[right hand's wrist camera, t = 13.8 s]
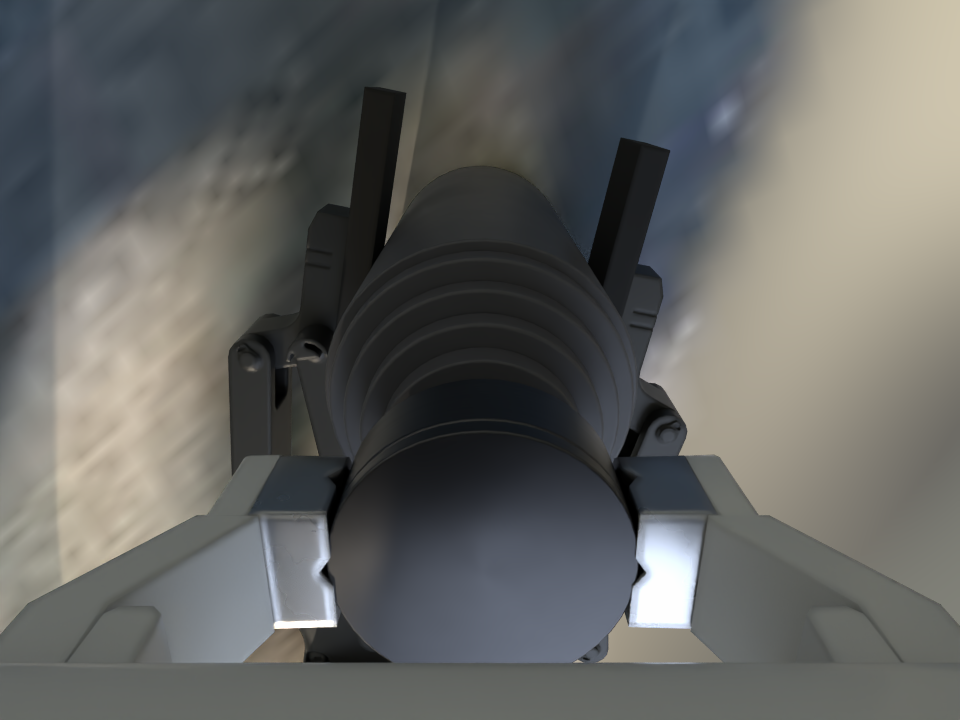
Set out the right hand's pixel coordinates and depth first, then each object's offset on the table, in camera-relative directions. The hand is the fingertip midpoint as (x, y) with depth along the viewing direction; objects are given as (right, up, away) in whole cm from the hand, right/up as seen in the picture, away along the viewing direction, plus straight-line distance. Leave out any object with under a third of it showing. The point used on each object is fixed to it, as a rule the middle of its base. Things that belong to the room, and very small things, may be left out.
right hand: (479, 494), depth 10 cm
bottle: (0, +6, +15) cm, 16 cm away
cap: (0, -1, -1) cm, 1 cm away
